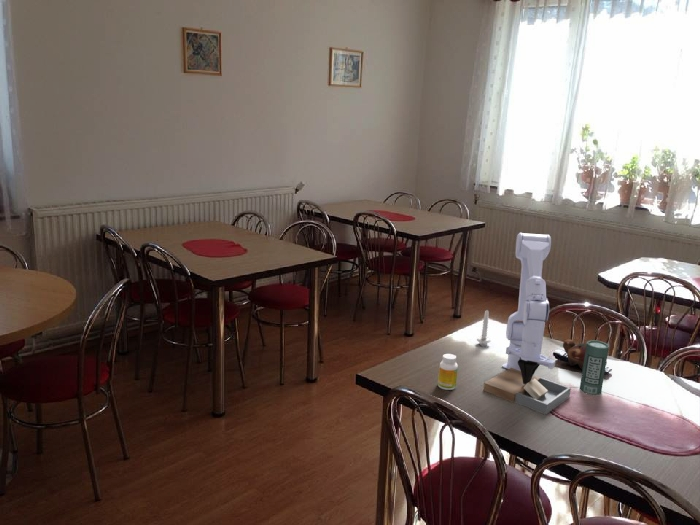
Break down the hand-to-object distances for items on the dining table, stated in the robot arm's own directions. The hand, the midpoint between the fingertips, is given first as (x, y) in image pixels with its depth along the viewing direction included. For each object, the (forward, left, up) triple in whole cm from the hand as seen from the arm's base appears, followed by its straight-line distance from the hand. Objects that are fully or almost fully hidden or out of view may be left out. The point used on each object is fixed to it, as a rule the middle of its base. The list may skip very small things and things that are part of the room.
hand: (526, 383), depth 183 cm
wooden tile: (0, +3, -2) cm, 3 cm away
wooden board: (0, -4, -3) cm, 5 cm away
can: (-17, +13, -3) cm, 22 cm away
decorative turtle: (-32, +4, -3) cm, 32 cm away
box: (0, +5, -3) cm, 6 cm away
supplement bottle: (+14, -18, -3) cm, 23 cm away
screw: (-23, -28, -3) cm, 37 cm away
